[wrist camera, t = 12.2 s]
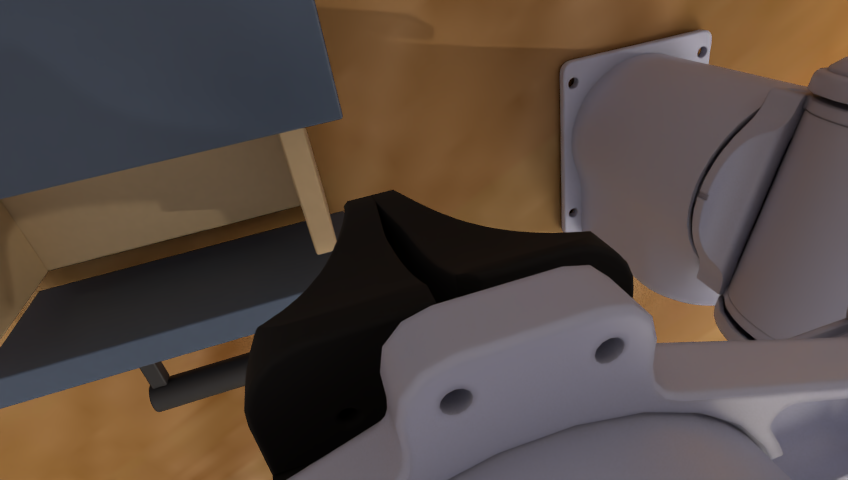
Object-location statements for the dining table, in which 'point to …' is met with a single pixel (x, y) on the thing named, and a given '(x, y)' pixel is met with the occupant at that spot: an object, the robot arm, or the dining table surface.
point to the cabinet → (151, 82)
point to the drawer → (158, 269)
